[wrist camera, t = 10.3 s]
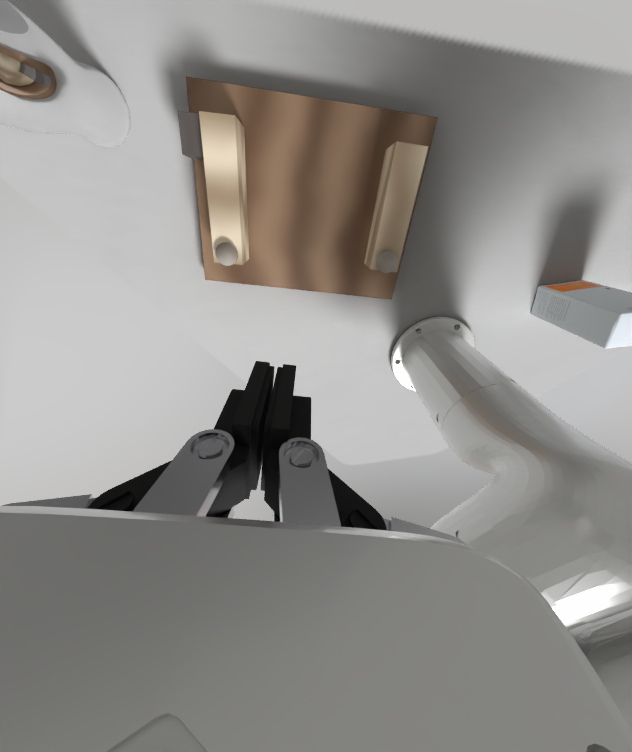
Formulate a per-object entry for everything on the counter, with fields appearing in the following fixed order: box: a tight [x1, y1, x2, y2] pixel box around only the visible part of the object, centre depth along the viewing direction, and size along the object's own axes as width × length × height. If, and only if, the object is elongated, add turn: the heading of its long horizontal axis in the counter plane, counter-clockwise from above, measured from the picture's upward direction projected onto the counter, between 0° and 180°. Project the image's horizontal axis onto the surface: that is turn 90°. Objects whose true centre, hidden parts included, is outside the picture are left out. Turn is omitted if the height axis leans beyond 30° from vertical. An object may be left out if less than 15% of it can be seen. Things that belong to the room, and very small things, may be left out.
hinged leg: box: [199, 111, 249, 266], centre depth 28 cm, size 12×3×5 cm, turn 175°
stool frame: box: [178, 77, 437, 299], centre depth 30 cm, size 24×18×7 cm
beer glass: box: [0, 0, 130, 148], centre depth 21 cm, size 7×7×15 cm
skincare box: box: [531, 280, 632, 348], centre depth 34 cm, size 6×4×12 cm
